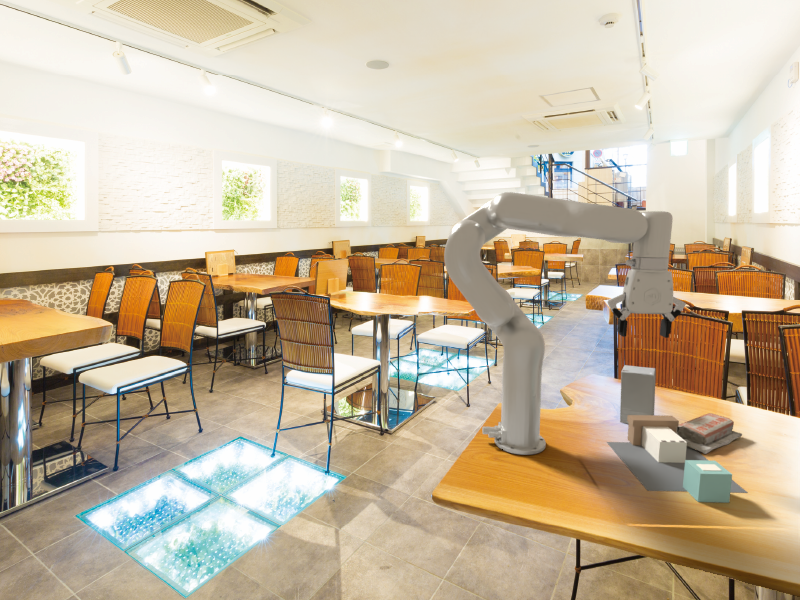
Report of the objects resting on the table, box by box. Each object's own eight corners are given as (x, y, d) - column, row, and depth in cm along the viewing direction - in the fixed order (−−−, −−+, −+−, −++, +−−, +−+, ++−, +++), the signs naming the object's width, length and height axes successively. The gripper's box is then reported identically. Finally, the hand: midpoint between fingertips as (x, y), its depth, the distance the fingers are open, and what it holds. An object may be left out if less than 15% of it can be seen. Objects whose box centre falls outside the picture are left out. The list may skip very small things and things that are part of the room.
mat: (647, 492, 95) (647, 490, 95) (606, 443, 117) (606, 441, 117) (747, 494, 94) (747, 492, 94) (687, 444, 116) (687, 443, 116)
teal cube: (697, 501, 91) (700, 473, 90) (682, 486, 96) (685, 459, 95) (729, 502, 91) (732, 473, 90) (712, 487, 96) (715, 460, 95)
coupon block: (647, 462, 107) (649, 435, 106) (625, 438, 118) (626, 414, 117) (696, 462, 106) (698, 435, 105) (669, 439, 118) (671, 415, 117)
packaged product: (701, 408, 126) (743, 420, 118) (700, 425, 127) (742, 438, 119) (665, 422, 117) (707, 436, 109) (664, 440, 118) (706, 455, 109)
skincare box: (653, 421, 130) (658, 367, 127) (651, 431, 124) (656, 374, 121) (620, 415, 134) (624, 363, 132) (617, 424, 128) (621, 369, 126)
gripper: (617, 265, 105) (611, 338, 107) (697, 266, 103) (689, 341, 106) (605, 263, 112) (600, 331, 115) (680, 264, 111) (673, 333, 113)
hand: (643, 336), depth 110 cm, fingers open, 9 cm apart
